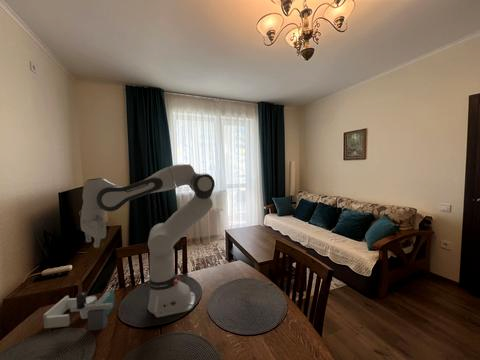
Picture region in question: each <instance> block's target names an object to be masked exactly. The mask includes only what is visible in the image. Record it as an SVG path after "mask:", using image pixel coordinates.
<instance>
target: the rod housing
mask: <svg viewBox="0 0 480 360" xmlns="http://www.w3.org/2000/svg"><path fill="white" fill-rule="evenodd" d="M87 317H88V318H87V329H88V331H89V332H90V331H98V330H104V329H105V328H106V326H107V325H108V323H109V321H108V316H107V309H100V310H89V311H88V312H87Z"/></svg>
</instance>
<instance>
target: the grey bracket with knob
mask: <svg viewBox="0 0 480 360" xmlns="http://www.w3.org/2000/svg"><path fill="white" fill-rule="evenodd" d="M86 297H87V292H86V291H81V292H78V293H77V294H76V296H75V298H76V301H77V305H76V306H72V307H71V308H70V309H69V311H70V313H75V312H80V311H88V310H100V309H107V317H108V316H109V314H110V313H111V311H113V309H114V308H115V305H116V303H115V301H116V300H115V289H111V290H109V291H108V290H107V291H105V292H104V293H103V295H102V296H101V297H100V298H99V299H97V300H96V303H95V304H88V305H86Z"/></svg>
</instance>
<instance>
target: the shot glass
mask: <svg viewBox="0 0 480 360" xmlns="http://www.w3.org/2000/svg"><path fill="white" fill-rule="evenodd" d="M97 301H98V299H97V296H96V295H90V296H86V305H88V304H95V303H96V302H97ZM88 311H89V310H88ZM88 311H79V314H80V318H81V319H82V320H86V319H87V320H88V317H87V312H88Z"/></svg>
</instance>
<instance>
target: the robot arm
mask: <svg viewBox="0 0 480 360" xmlns="http://www.w3.org/2000/svg"><path fill="white" fill-rule="evenodd" d="M215 183H216V182H215V179H214V178H213V176H212V175H210V174H209V173H206V172H205V173H204V172H202V173H201V172H200V173H197V172H196V171H195V169H194V167H193V165H191V164H190V163H187V162H186V163H179V164H178V163H177V164H174V165H171V166H166V167H165V168H162V169H160V170H158V171H156V172H155V173H153V174H151V175H150V176H148V177H147V178H145V179H143V180H140V181H137V182H135V183H134V182H133V183H132V184H128V185H127V186H125V185H124V186H121V185H118V184H116V183H112V182H110V181H108V180H107V179H106V178H104V177H97V178H89V179H87V180H86V181H85V182H84V185H83V188H82V201H83V203H82V207H81V210H80V211H78V213H79V214H78V215H79V216H80V221H79V222H80V223H79V224H80V230H81V231H82V232H84V236H85V242H86V243H91V242H92V238H93V239H94V243H92V244H93V248H95V249H97V248H100V243H101V240H103V239H106V238H107V237H106V236H107V223H106V220H104V219H105V218H106V212H115V211H117V210H119V209H120V208H122V206H124V205H125V204H127V203H128V202H130V201H132V200H135V199H137V198H141V197H143V196H145V195H148V194H154V193H161V192H167V191H170V190H174V189H177V188H179V187H182V186H188V187H190V189H191V190H192V191H193V192H194V196H193V197H192V198H191V199H190V200H189V201H187V202H186V203H185V204H183V205H182V206H181V207H180V208H179V209H177V210H176V211H175V212H173V213H172V215H171V216H170V217H168V219H167V220H166V221H165V222H161V223H160V222H159V223H157V224H155V225H153V227H152V228H151V229H150V231H149V235H148V239H147V246H148V249H149V276H150V277H149V283H148V284H149V285H148V286H149V299H148V305H147V310H148V311H149V313H151V314H152V315H153V314H154V315H153V316H155V317H156V318H161V317H166V316H171V315H176V314H181V313H185V312H188V311H191V310H192V309H193V307H194V306H195V303H196V295H195V293H194V292H192V291H191V290H190V286H189V285H188V284H187V283H184V282H182V281H181V280H179V279H180V278H179V274H176V273H175V262H174V261H175V260H174V258H175V257H174V246H175V244H177V243H178V242H179V241H180V239H181V238H182V237H184V235H185V234H186V232H188V231H189V230H190V229H191V228H192V227H194V226H195V225H196V224H197V223H198V222H200V221H201V220H202V219H203V218H204V217H205V216H206V215H207V214H208V213H209V211H211V209H212V208H213V200H212V199H211V196H212V194H213V191H214V190H215Z"/></svg>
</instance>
